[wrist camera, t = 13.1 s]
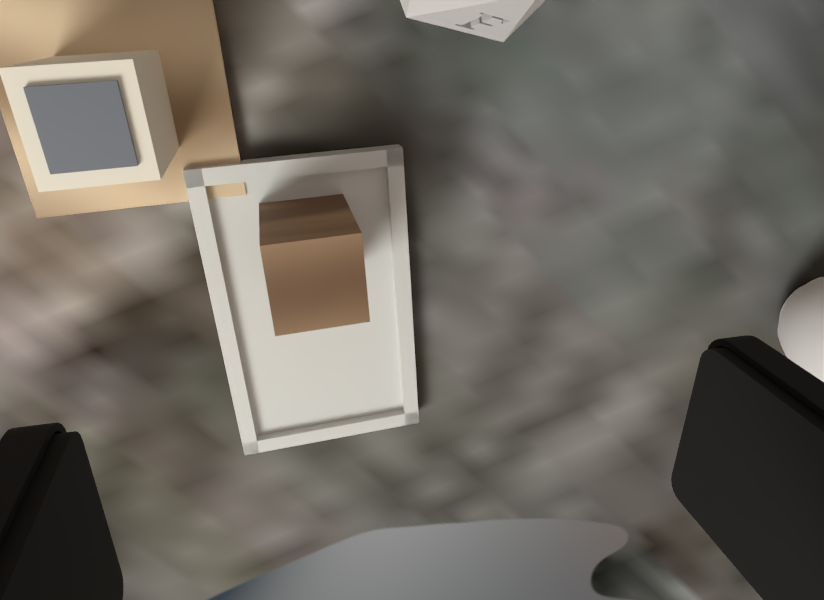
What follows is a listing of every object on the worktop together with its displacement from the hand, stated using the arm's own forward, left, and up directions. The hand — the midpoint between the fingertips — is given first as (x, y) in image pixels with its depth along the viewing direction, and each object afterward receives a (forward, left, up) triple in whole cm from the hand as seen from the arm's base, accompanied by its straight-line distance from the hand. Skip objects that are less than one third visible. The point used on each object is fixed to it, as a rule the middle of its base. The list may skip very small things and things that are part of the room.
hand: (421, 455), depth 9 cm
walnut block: (+4, -1, -22) cm, 22 cm away
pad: (-3, -8, -22) cm, 24 cm away
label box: (-3, -8, -22) cm, 23 cm away
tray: (+8, -1, -22) cm, 24 cm away
